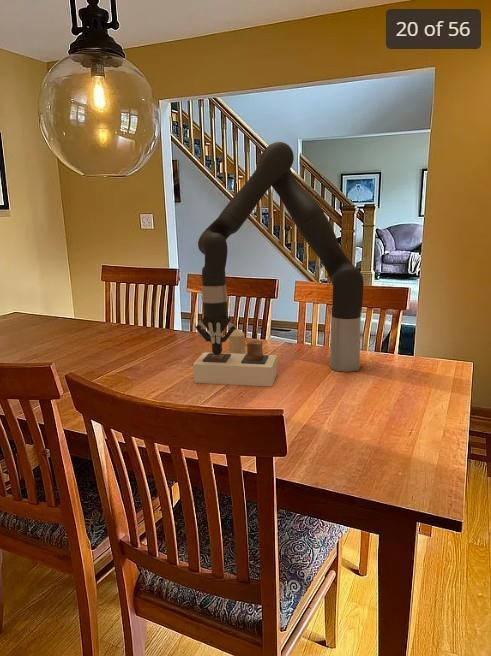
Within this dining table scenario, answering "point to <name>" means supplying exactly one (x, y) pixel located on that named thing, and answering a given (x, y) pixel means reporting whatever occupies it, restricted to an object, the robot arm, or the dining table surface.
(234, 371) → the socket board
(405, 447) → the dining table surface
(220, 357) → the peg
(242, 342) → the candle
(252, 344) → the peg
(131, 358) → the dining table surface
